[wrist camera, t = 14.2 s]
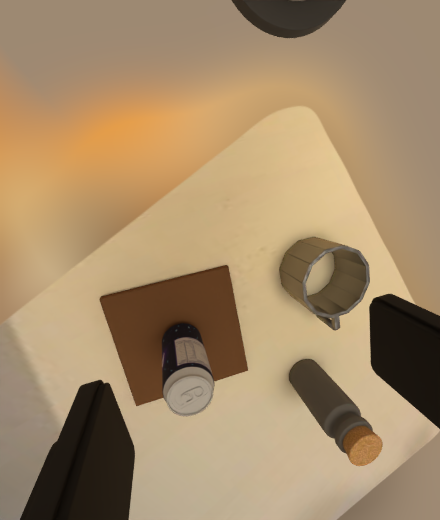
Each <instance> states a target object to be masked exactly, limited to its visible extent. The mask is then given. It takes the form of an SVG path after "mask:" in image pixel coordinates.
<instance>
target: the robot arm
mask: <svg viewBox="0 0 440 520" xmlns="http://www.w3.org/2000/svg"><path fill="white" fill-rule="evenodd" d="M291 1H304V0H291ZM369 311H370V347H371V366H372V368H373V370H374V372H375V373H376V374H377V375H378V376H379V377H380V378H382V379H383V380H384V381H385V382H386V383H387V384H389V385H390V386H391V387H392V388H393V389H394V390H395V391H397V392H398V393H399V394H400V395H401V396H402V397H404V398H405V399H406V400H407V401H408V402H409V403H410V404H412V405H413V406H414V407H415V408H416V409H417V410H419V411H420V412H421V413H422V414H423V415H424V416H425V417H427V418H428V419H429V420H430V421H431V422H432V423H434V424H435V425H436V426H437V427H438V428H439V429H440V316H439V315H436V314H434V313H432V312H430V311H428V310H426V309H423V308H421V307H419V306H417V305H415V304H412V303H410V302H408V301H406V300H404V299H402V298H399V297H397V296H395V295H393V294H386V295H383V296H379V297H376V298H374V299H373V300H372V303H371V304H370V307H369ZM134 460H135V451H134V445H133V442H132V440H131V437H130V434H129V432H128V429H127V427H126V424H125V422H124V419H123V417H122V414H121V411H120V409H119V406H118V404H117V401H116V399H115V396H114V394H113V391H112V388H111V386H110V384H109V383H103V381H102V380H98V381H94V382H91V383H88V384H84V385H82V386H80V388H79V390H78V392H77V395H76V397H75V400H74V402H73V404H72V407H71V409H70V412H69V414H68V416H67V419H66V421H65V424H64V426H63V428H62V431H61V433H60V436H59V438H58V441H56V442H55V443H54V444H53V445H52V447H51V449H50V451H49V453H48V455H47V458H46V460H45V462H44V465H43V467H42V469H41V472H40V474H39V476H38V479H37V481H36V483H35V486H34V488H33V490H32V493H31V495H30V497H29V500H28V502H27V504H26V507H25V509H24V511H23V514H22V516H21V518H20V520H128V519H129V509H130V499H131V490H132V480H133V470H134Z"/></svg>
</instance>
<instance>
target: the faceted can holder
mask: <svg viewBox="0 0 440 520" xmlns="http://www.w3.org/2000/svg"><path fill="white" fill-rule="evenodd" d="M329 252H332V253H333V254H334V261H335V271H334V273H333V276H332V278H331V281H330V283H329V284H328V285H327V286H326V287H325V288H323V289H322V290H321V291H320V292H319V293H317V294H313V295H310V296H307V291H306V281H307V278H308V276H309V273H310V271H311V268H312V266H313V265H314V264H315V263H316V262H317V261H318V260H319V259H320V258H322V257H323V256H324V255H325V254H326V253H329ZM279 270H280V277H281V284H282V286H283V287H284V288H285V289H286V291H287V292H288V293H289V294H290V295H291V296H292V297H293V298H294V299H296V300H297V301H298V302H300V303H301V304H302V305H304V306H305V307H306V308H307V309H309V310H310V311H311V312H313V313H314V314H315V315H316V316H317V317H318V318H319V319H320V320H321V321H323V322H324V323H325V324H327V325H328V326H329V327H330V328H332V329H333V330H338V329H339V328H340V320H339V316H340V315H344V314H347V313H349V312H350V311H351V310H352V309H353V308H354V307H355V306H356V305H357V304H358V303H360V302H361V300H362V299H363V297H364V294H365V292H366V290H367V288H368V285H369V283H370V277H369V264H368V262H367V261H366V259H365V258H364V256H363V255H362V253H361V252H360V251H359V250H356V249H354V248H351V247H348V246H345V245H342V244H338V243H335V242H331V241H327V240H324V239H320V238H316V237H312V238H308V239H304V240H300V241H298V242H297V243H296V244H294V245H293V246H292V247H291V248H290V249H289V250H288V251H287V252H286V253H285V255H284V258H283V261H282V263H281V266H280V269H279ZM329 318H331V319H332V320H331V319H329Z"/></svg>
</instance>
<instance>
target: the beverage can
mask: <svg viewBox="0 0 440 520" xmlns="http://www.w3.org/2000/svg"><path fill="white" fill-rule="evenodd" d="M213 390H214V379H213V375H212V372H211V368H210V365H209V361H208V358H207V355H206V351H205V348H204V344H203V341H202V337H201V334H200V332H199V330H198V329H197V328H196V327H194V326H193V325H191V324H186V323H180V324H176V325H174V326H172V327H170V328H169V329H168V330H167V331H166V332H165V334H164V335H163V338H162V392H163V397H164V399H165V401H166V402H167V405H168V407H169V409H170V410H171V411H172V412H173V413H175V414H177V415H180V416H193V415H196V414H198V413H200V412H202V411H203V410H205V409H206V408H207V407H208V405H209V404H210V402H211V400H212V397H213Z"/></svg>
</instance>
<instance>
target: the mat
mask: <svg viewBox="0 0 440 520" xmlns="http://www.w3.org/2000/svg"><path fill="white" fill-rule="evenodd" d="M100 302H101V305H102V308H103V311H104V314H105V317H106V320H107V322H108V325H109V328H110V331H111V334H112V337H113V340H114V343H115V346H116V349H117V351H118V354H119V357H120V360H121V363H122V366H123V369H124V372H125V375H126V378H127V380H128V383H129V386H130V389H131V392H132V395H133V398H134V401H135V404H136V406H139V405H142V404H145V403H148V402H151V401H154V400H157V399H160V398H164V397H163V392H162V338H163V335H164V334H165V332H166V331H167V330H168V329H169V328H170V327H172V326H174V325H176V324H180V323H186V324H191V325H193V326H194V327H196V328H197V329H198V330H199V332H200V334H201V337H202V341H203V344H204V348H205V351H206V355H207V358H208V361H209V365H210V368H211V372H212V375H213V379H214V381H217V380H220V379H223V378H226V377H229V376H232V375H235V374H238V373H242V372H245V371H248V367H247V362H246V357H245V352H244V346H243V341H242V336H241V331H240V325H239V320H238V315H237V309H236V304H235V299H234V294H233V288H232V283H231V278H230V273H229V267H228V266H227V265H225V266H221V267H217V268H213V269H209V270H205V271H201V272H197V273H193V274H189V275H185V276H181V277H177V278H173V279H169V280H165V281H161V282H157V283H153V284H149V285H146V286H142V287H138V288H134V289H130V290H126V291H122V292H118V293H114V294H110V295H106V296H102V297H101V298H100Z"/></svg>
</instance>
